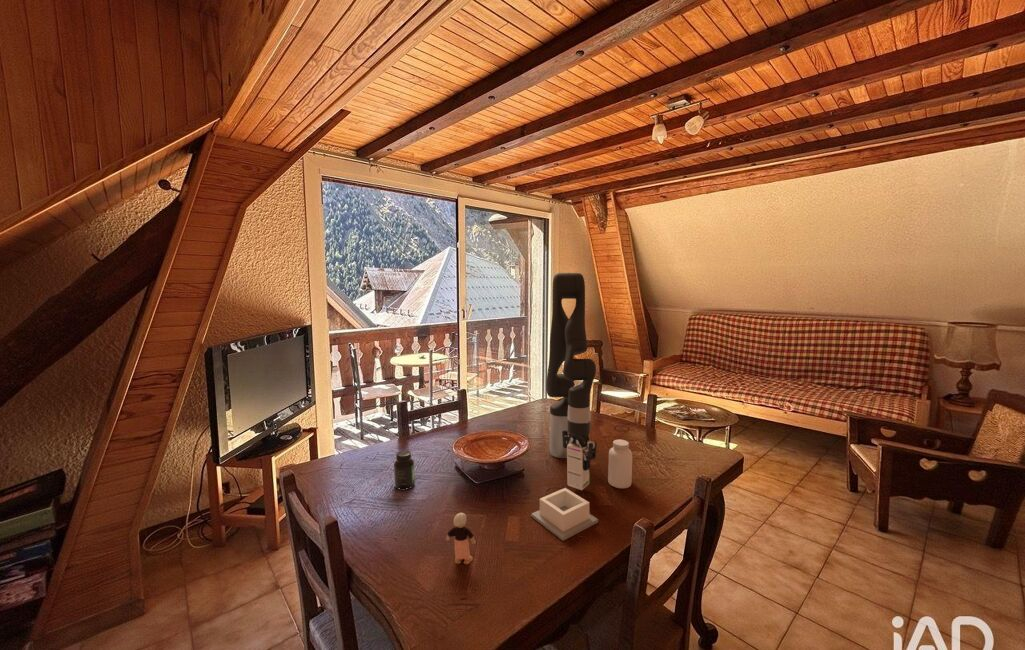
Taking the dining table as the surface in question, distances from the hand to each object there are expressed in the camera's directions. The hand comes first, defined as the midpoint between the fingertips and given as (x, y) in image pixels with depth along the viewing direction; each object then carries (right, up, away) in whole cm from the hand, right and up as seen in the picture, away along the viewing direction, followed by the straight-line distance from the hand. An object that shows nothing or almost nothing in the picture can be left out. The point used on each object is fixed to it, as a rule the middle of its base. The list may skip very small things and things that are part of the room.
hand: (578, 465), depth 135 cm
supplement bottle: (-60, -9, +6) cm, 61 cm away
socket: (-7, -11, -15) cm, 20 cm away
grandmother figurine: (-35, -13, -32) cm, 49 cm away
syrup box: (0, -7, +1) cm, 7 cm away
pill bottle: (+15, -8, +5) cm, 18 cm away
